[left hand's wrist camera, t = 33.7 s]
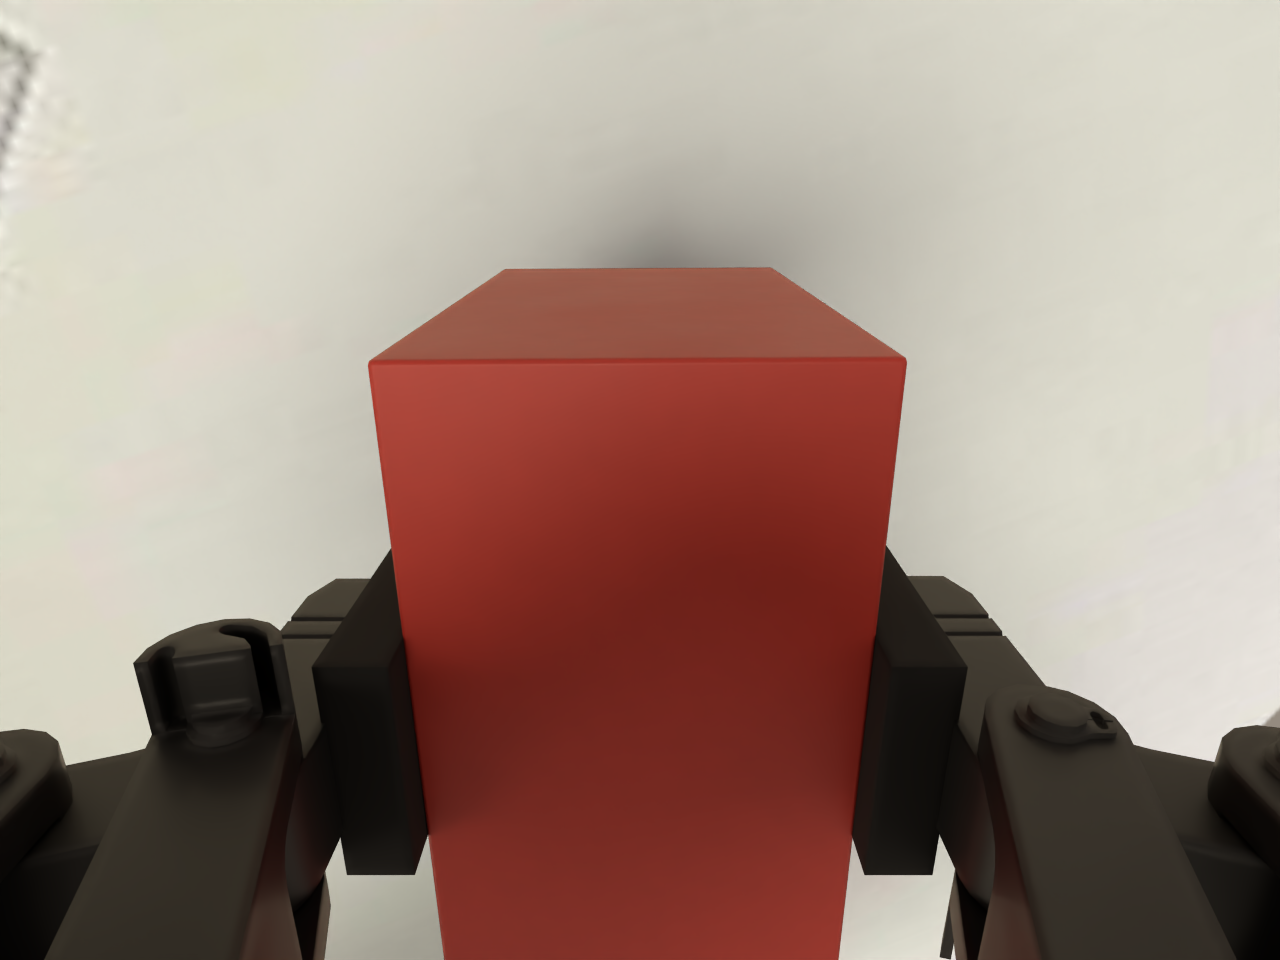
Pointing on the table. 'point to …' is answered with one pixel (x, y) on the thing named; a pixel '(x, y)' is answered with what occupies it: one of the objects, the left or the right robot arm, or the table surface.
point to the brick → (639, 606)
